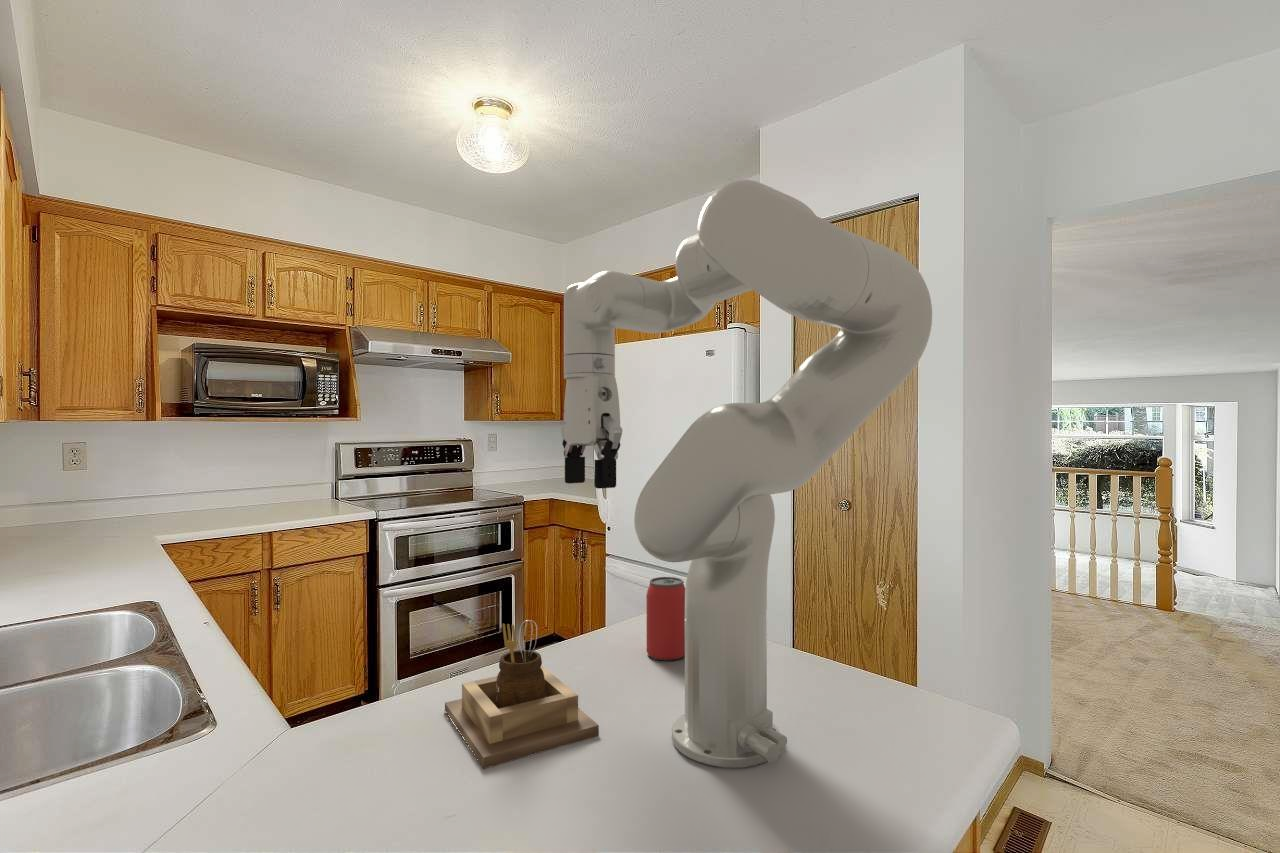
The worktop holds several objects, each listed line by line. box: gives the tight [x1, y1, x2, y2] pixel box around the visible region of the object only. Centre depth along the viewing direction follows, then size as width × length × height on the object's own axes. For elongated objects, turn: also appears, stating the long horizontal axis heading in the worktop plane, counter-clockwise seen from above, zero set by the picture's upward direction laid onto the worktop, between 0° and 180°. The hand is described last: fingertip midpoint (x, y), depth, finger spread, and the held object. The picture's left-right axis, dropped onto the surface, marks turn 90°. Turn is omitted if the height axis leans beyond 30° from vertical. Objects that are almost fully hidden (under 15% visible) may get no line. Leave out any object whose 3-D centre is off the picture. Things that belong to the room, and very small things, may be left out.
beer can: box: [645, 576, 686, 662], centre depth 101 cm, size 7×7×12 cm
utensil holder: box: [496, 619, 545, 709], centre depth 78 cm, size 6×6×12 cm
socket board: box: [444, 665, 600, 769], centre depth 78 cm, size 16×14×4 cm
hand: (589, 485), depth 92 cm, fingers open, 9 cm apart
